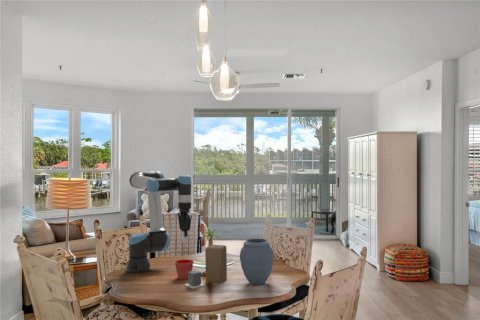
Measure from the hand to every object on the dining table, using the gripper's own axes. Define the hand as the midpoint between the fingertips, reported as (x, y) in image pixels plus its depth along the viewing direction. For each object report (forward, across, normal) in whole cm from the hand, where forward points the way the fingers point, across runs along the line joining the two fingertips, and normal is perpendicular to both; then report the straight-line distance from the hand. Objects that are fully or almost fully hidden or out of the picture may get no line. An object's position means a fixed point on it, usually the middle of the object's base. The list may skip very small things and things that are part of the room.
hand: (184, 241), depth 245 cm
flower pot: (+23, -6, +3) cm, 24 cm away
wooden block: (+22, +13, +13) cm, 29 cm away
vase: (+22, +33, +27) cm, 48 cm away
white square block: (+22, +13, -2) cm, 26 cm away
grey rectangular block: (+21, +13, -2) cm, 25 cm away
